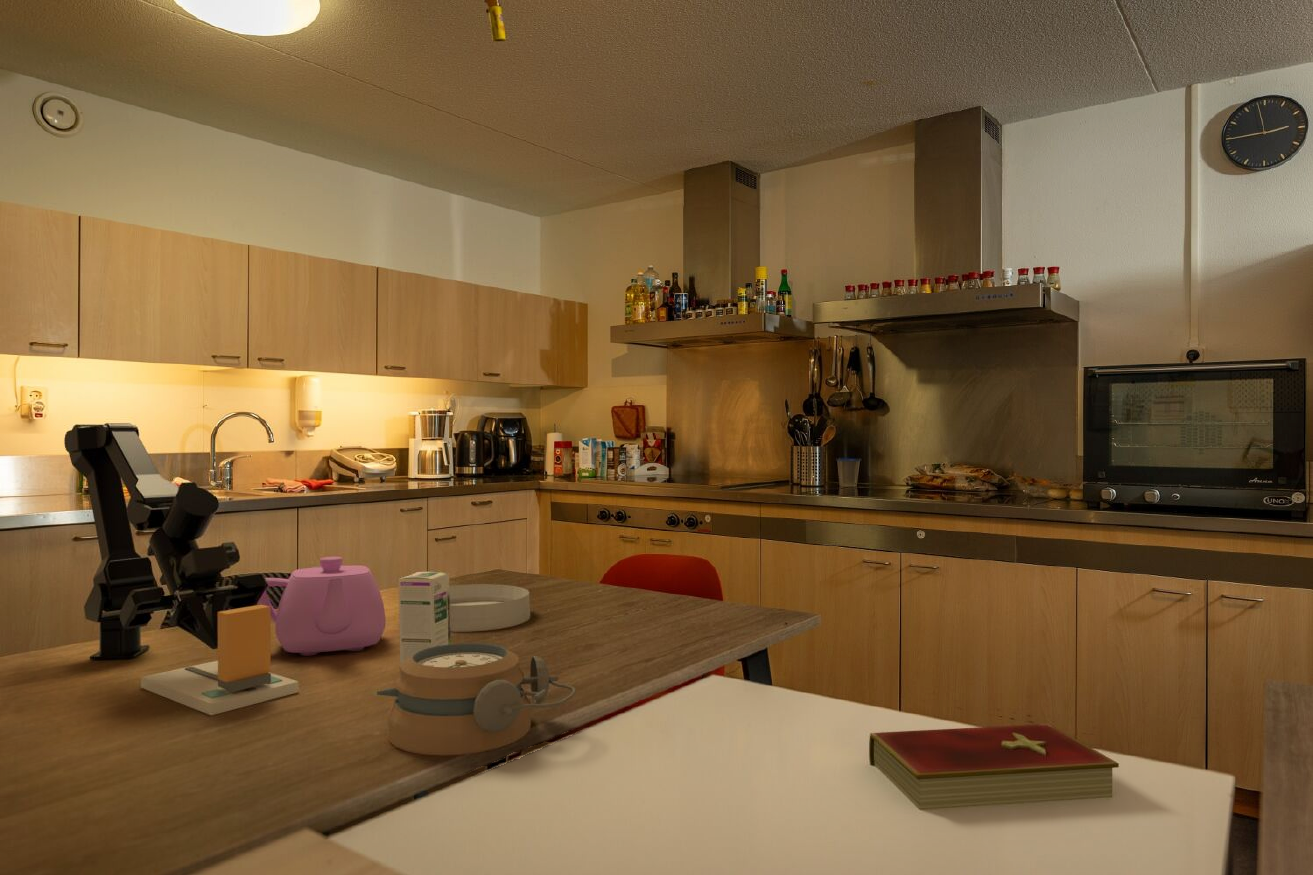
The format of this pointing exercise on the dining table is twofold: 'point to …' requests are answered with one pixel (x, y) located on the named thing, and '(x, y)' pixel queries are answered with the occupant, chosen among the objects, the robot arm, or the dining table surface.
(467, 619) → the dish
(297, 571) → the teapot
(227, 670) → the fader
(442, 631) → the syrup box
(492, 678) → the alarm clock
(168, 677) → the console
